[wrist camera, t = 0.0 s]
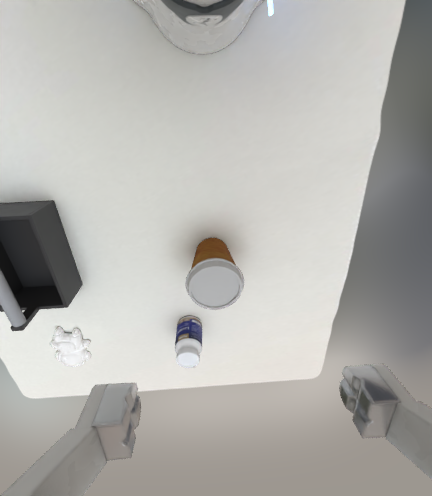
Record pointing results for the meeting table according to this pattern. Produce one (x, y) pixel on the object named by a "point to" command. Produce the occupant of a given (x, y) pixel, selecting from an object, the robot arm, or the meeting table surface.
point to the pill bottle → (188, 341)
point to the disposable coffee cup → (214, 276)
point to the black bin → (34, 262)
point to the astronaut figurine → (70, 347)
